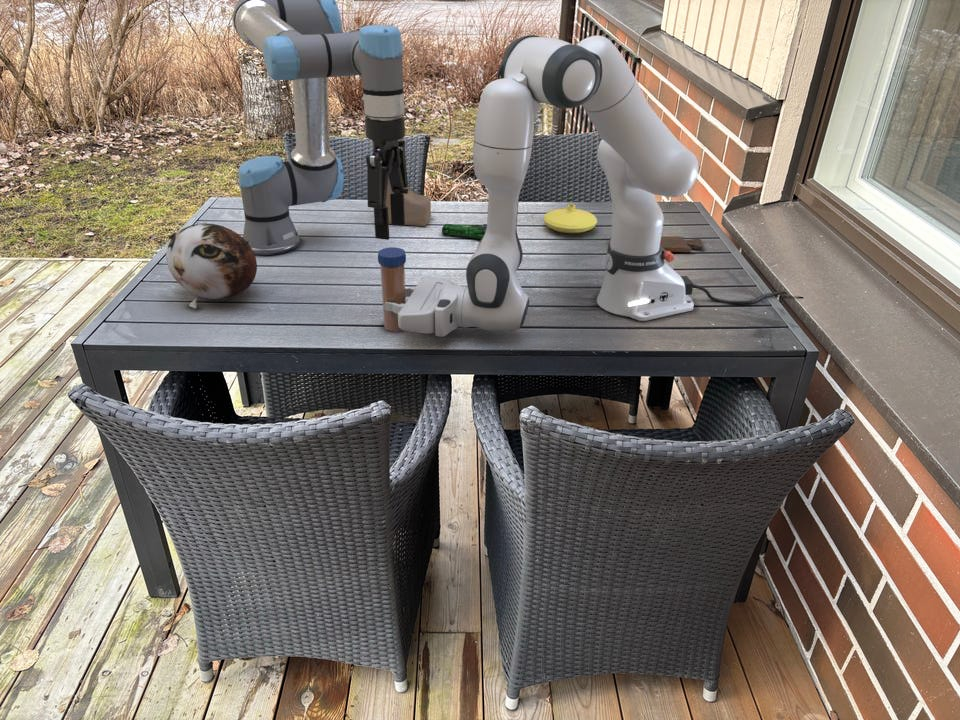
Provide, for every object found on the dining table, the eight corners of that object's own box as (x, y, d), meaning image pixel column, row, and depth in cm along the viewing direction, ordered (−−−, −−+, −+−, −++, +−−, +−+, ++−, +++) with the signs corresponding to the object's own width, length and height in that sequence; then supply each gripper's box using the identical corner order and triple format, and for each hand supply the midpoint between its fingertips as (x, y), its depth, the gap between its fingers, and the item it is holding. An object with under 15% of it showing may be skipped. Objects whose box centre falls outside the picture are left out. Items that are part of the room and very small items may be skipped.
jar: (381, 322, 159) (377, 251, 150) (403, 319, 160) (400, 248, 152) (386, 332, 155) (382, 260, 146) (409, 329, 156) (406, 257, 148)
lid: (375, 258, 151) (375, 248, 150) (402, 255, 153) (402, 245, 152) (381, 268, 147) (380, 259, 146) (408, 265, 148) (408, 255, 147)
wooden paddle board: (706, 254, 196) (698, 241, 204) (708, 249, 195) (699, 236, 203) (612, 251, 196) (608, 238, 205) (613, 245, 195) (608, 232, 204)
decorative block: (426, 226, 211) (423, 122, 195) (376, 223, 212) (370, 119, 197) (431, 218, 217) (429, 116, 202) (383, 215, 219) (377, 114, 203)
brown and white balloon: (130, 285, 161) (164, 203, 163) (192, 308, 177) (221, 233, 178) (195, 307, 151) (229, 220, 152) (254, 330, 166) (285, 250, 168)
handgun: (511, 219, 210) (493, 234, 198) (511, 228, 211) (492, 244, 199) (461, 212, 215) (440, 226, 203) (461, 221, 217) (440, 236, 204)
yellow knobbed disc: (559, 216, 220) (561, 193, 217) (605, 227, 212) (608, 204, 209) (532, 230, 209) (533, 207, 206) (580, 242, 201) (582, 218, 198)
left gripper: (387, 104, 144) (392, 213, 156) (342, 126, 127) (352, 247, 139) (422, 107, 142) (425, 217, 154) (381, 129, 125) (387, 251, 137)
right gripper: (463, 272, 159) (403, 266, 161) (440, 313, 142) (374, 306, 144) (463, 298, 162) (404, 292, 165) (441, 340, 145) (376, 333, 147)
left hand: (390, 231), depth 146 cm, fingers open, 7 cm apart
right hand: (390, 298), depth 154 cm, fingers closed on jar, 5 cm apart
